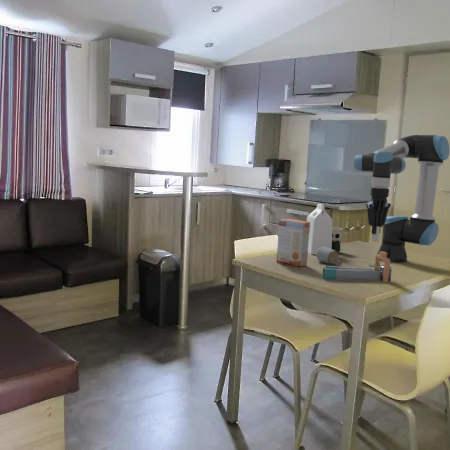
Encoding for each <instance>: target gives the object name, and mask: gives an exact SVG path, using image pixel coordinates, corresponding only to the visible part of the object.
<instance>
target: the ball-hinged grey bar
mask: <svg viewBox="0 0 450 450" xmlns="http://www.w3.org/2000/svg"><path fill="white" fill-rule="evenodd" d="M392 270H393V269H392V268H391V270H389V276H388V282H391V280H392V272H393V271H392ZM383 273H384V269H381V268H379V270H374V269H373V270H362V269H335V268H326V267H322V279H323V280H327V281H328V280H329V281H330V280H331V281H365V282H366V281H368V282H371V281H372V282H374V281H375V282H376V281H377V282H383ZM388 282H387V283H388Z"/></svg>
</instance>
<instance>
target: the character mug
mask: <svg viewBox="0 0 450 450" xmlns="http://www.w3.org/2000/svg"><path fill="white" fill-rule="evenodd" d="M346 238H347V233H346V232H344V228H341V227H333V226H332V248H331V249H332V250H335V251H336V252H337V253H339V252H341V241H342V240H343V239H346Z"/></svg>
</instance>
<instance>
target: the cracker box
mask: <svg viewBox="0 0 450 450" xmlns="http://www.w3.org/2000/svg"><path fill="white" fill-rule="evenodd" d="M278 224H279V225H278V236H277V237H278V238H277V249H276V250H277V251H276V262H278V263H283V264H287V265H291V266H296V267H299V268H300V267H306V266H307V265H308V254H309V253H308V243H309V231H310V222H306V221H304V220H299V219H293V218H279V223H278Z"/></svg>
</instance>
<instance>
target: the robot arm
mask: <svg viewBox="0 0 450 450" xmlns="http://www.w3.org/2000/svg"><path fill="white" fill-rule="evenodd" d="M449 156H450V143H449V140H448V138H447V137H446V136H444V135H437V134H434V135H433V134H412V135H407V136H404V137H402V138H398V139H396V140H394V141H393V142H392V143H391V144H390V145H387V146H385V147H382V148H381V149H380V148H379V149H377V150H376V151H373V152H370V153H368V154H364V153H363V154H357V155H356V156H355V157H354V160H353V167H354V169H355V170H356V171H358V172H359V171H360V172H369V173H372V176H371V177H372V178H371V189H370V196H371V199H370V201H369V202H366V204H365V205H366V208H367V219H368V225H369V226H371V241H372V242H375V243H379V240H380V234H381V233H382V235H381V243H380V246H379V248H378V251H377V253H376V254H379V252H386V253H387V257H386V258H388V259H390V263H397V264H398V263H403V264H404V263H406V262H407V261H408V254H407V250H406V243H409V244H410V243H411V244H415V245H420V246H431V245H432V244H434V242H435V241H436V240H437V237H438V234H439V230H440V229H439V224H438V223H437V222H436V218H435V217H434V216H433V214H434V206H435V199H436V191H437V186H438V180H439V179H438V178H439V177H438V176H439V171H440V167H441V166H442V165H443V164H444V161H446V160H448V157H449ZM405 158H406V159H408V158H409V159H417V163H418V164H419V165H420V168H419V173H418V182H417V191H416V198H415V204H414V211H413V212H414V213H413V214H412V215H410V218H409V217H408V216H407V215H390V216H389V215H388V213H389V209H390V207H391V205H392V204H391V203H389V202H388V197H389V194H390V187H391V175H392V174H393V175H394V174H395V175H396V174H397V175H398V174H401V173H403V172H404V171H405V169H406V166H407V165H406V161H405ZM381 228H382V232H381ZM380 261H383V260H381V259H380ZM383 262H384V261H383Z"/></svg>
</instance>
